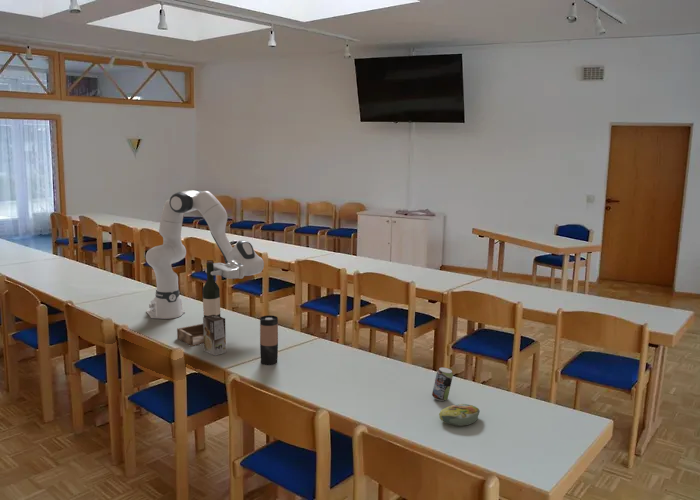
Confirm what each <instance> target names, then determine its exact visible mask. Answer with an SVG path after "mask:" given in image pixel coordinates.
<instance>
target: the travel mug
mask: <svg viewBox="0 0 700 500" xmlns="http://www.w3.org/2000/svg"><path fill="white" fill-rule="evenodd" d="M278 321H279V319H278V316H275V315H262V316H260V318H259V350H260V354H259V355H260V363H261V365H264V366H274V365H277V363H278V357H279V356H278V352H279V351H278V349H279V334H278V333H279V325H278V324H279V323H278Z"/></svg>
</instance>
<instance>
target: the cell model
mask: <svg viewBox="0 0 700 500" xmlns="http://www.w3.org/2000/svg"><path fill="white" fill-rule="evenodd" d="M480 411H481V410H480V409H479V408H478V407H477V406H475V405H471V404H466V403H457V404H451V405H449V406H447V407H445V408H443V409H441V410H440V412H439V414H438V416H439V419H440V420H441V421H442V422H444V423H445V424H449V425H453V426H468V425H471V424H473V423H475V422H476V421H477V420H478V418H479V415H480Z"/></svg>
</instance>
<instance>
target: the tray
mask: <svg viewBox="0 0 700 500" xmlns="http://www.w3.org/2000/svg"><path fill="white" fill-rule="evenodd" d="M176 332H177V334H176V337H177V340H180V341H181V342H183V344H186V345H187V346H189V345H190V346H189V347H195V345H196V346H200V344H201V345H204V333H203V323H200V324H199V323H198V324H192V325H187V326H183V327H178V328H177V329H176Z"/></svg>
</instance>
